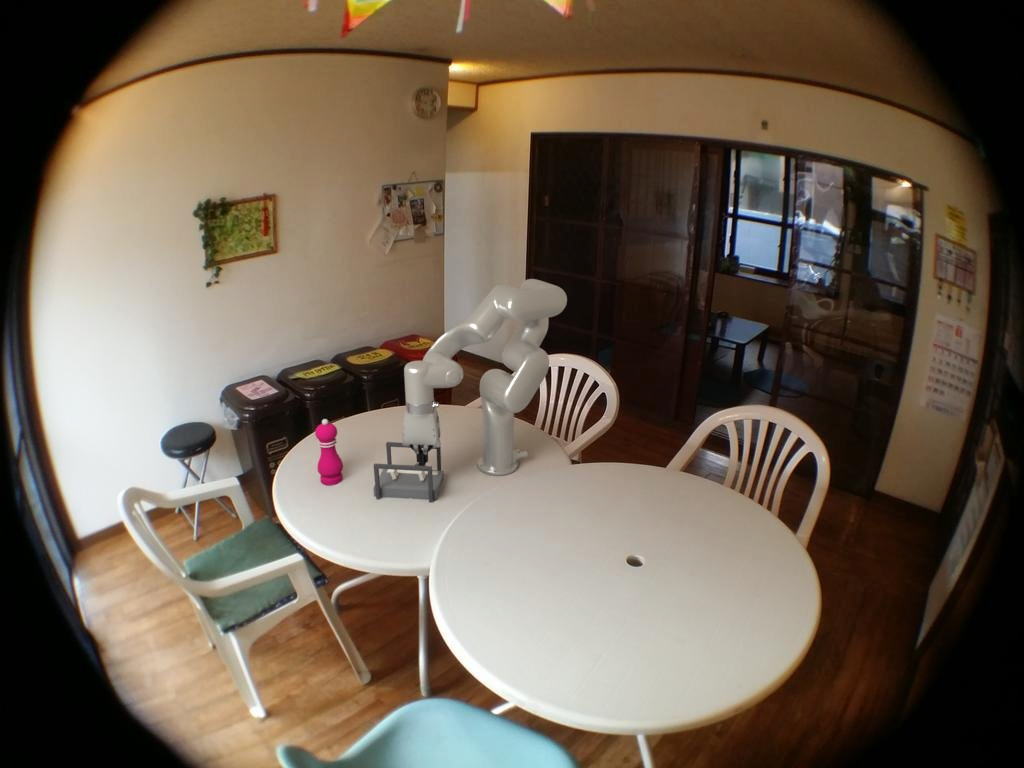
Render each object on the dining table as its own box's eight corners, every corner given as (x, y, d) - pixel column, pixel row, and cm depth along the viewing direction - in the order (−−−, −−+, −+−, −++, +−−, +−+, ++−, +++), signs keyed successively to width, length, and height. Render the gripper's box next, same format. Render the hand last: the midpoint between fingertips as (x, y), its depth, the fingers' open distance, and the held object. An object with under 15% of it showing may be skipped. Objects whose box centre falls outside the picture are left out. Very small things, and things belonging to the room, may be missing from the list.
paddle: (398, 473, 165) (396, 466, 164) (396, 478, 163) (393, 471, 162) (395, 474, 166) (392, 467, 165) (392, 479, 163) (390, 472, 162)
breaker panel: (443, 479, 170) (443, 470, 169) (437, 500, 160) (436, 490, 159) (384, 476, 171) (384, 467, 170) (374, 496, 161) (373, 487, 160)
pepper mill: (348, 474, 171) (341, 414, 164) (338, 487, 165) (332, 425, 157) (325, 472, 172) (317, 413, 164) (314, 485, 165) (306, 424, 158)
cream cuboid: (425, 475, 165) (423, 468, 164) (423, 480, 162) (421, 473, 162) (422, 475, 165) (420, 468, 164) (420, 480, 163) (418, 473, 162)
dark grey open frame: (441, 476, 171) (440, 444, 167) (432, 502, 159) (431, 468, 154) (389, 474, 172) (386, 441, 168) (376, 499, 159) (373, 465, 155)
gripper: (449, 401, 158) (450, 459, 165) (396, 399, 159) (400, 456, 166) (444, 412, 151) (446, 472, 158) (389, 410, 152) (393, 469, 159)
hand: (422, 464), depth 162 cm, fingers closed
